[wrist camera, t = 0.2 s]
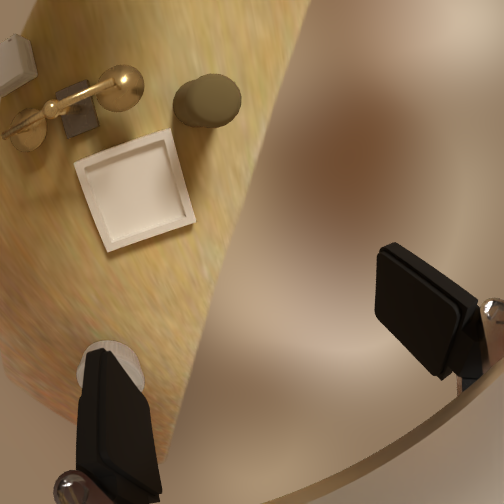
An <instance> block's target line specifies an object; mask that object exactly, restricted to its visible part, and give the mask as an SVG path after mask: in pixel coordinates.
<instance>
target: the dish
mask: <svg viewBox="0 0 504 504" xmlns="http://www.w3.org/2000/svg"><path fill="white" fill-rule="evenodd" d="M74 166H75V169H76V172H77V175H78V178H79V181H80V184H81V187H82V190H83V192H84V195H85V198H86V201H87V203H88V206H89V208H90V211H91V214H92V216H93V219H94V221H95V224H96V226H97V229H98V231H99V234H100V236H101V238H102V241H103V243H104V245H105V248H106V250H107V252H110V251H113V250H116V249H118V248H121V247H124V246H127V245H130V244H133V243H135V242H138V241H141V240H144V239H147V238H150V237H153V236H156V235H159V234H162V233H165V232H168V231H171V230H174V229H177V228H180V227H183V226H186V225H189V224H192V223H195V222H196V219H195V215H194V212H193V209H192V205H191V202H190V198H189V195H188V191H187V188H186V184H185V181H184V177H183V173H182V170H181V166H180V162H179V159H178V155H177V151H176V147H175V144H174V140H173V136H172V132H171V128H167V129H164V130H160V131H157V132H154V133H151V134H148V135H145V136H142V137H139V138H136V139H133V140H130V141H127V142H124V143H121V144H118V145H116V146H113V147H110V148H108V149H105V150H102V151H100V152H97V153H95V154H92V155H90V156H87V157H85V158H82V159H80V160H77V161H76V162H74Z"/></svg>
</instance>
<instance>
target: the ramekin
mask: <svg viewBox="0 0 504 504" xmlns="http://www.w3.org/2000/svg"><path fill="white" fill-rule="evenodd" d="M100 348H104V349H105V350H106V351H111V352H112V353H113V354H114V356H115V357H116V359H117V360H118V361H119V363H120V364H121V366H122V367H123V369H124V370H125V371H126V373H127V374H128V375H129V377H130V378H131V380H132V381H133V382H134V384H135V385H136V386H137V388H138V389H139V390H140V391H141V392H142V391H143V389H144V385H145V378H144V375H143V372H142V370H141V367H140V363H139V360H138V357H137V356H136V354H135V353H134V351H133V350H132V349H131V348H129V347H128V346H126V345H125V344H122V343H120V342H117V341H112V340H103V341H98V342H95V343H93V344H91V345H90V346H89V347H88V348H87V349H86V350H85V352H84V354H83V357H82V359H81V362H80V364H79V365H78V368H77V373H76V377H77V381H78V383H79V385H80V387H81V388H82V385H83V376H84V367H85V359H86V354H87V352H89V351H93V350H96V349H100Z"/></svg>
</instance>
